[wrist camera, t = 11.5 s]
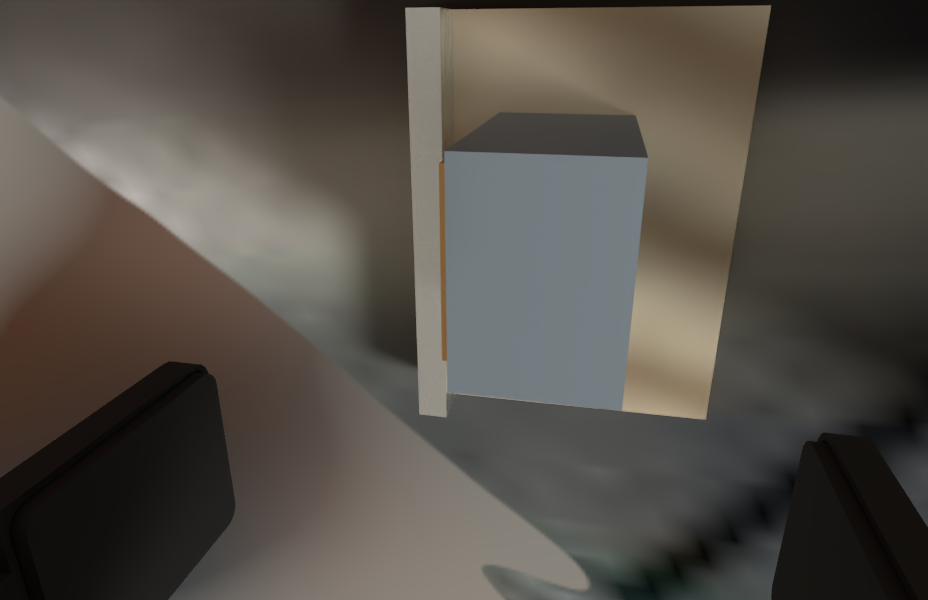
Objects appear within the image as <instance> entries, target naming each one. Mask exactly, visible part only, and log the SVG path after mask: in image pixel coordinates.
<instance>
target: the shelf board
mask: <svg viewBox="0 0 928 600" xmlns="http://www.w3.org/2000/svg"><path fill="white" fill-rule="evenodd" d="M770 10H771V5H764V6H684V7H603V8H522V9H447V8H441V7H424V8H405V14H406V42H407V71H408V100H409V128H410V157H411V185H412V214H413V242H414V271H415V300H416V328H417V357H418V385H419V414H422V415H431V416H440V417H447V415H448V413H449V411H450V408H451V406H452V404H453V401H454V399H455V397H456V394H458V393H448V392H447V361H442V334H441V272H440V210H439V163H440V162H441V161H442V160H444V151H445V150H446V149H448V148H449V147H451V146H452V145H454V144H455V143H457V142H458V141H459V140H461V139H462V138H464V137H465V136H467V135H468V134H469V133H471V132H472V131H474V130H475V129H477V128H478V127H479V126H481V125H482V124H484V123H485V122H487V121H488V120H489V119H491V118H492V117H494V116H495V115H497V114H498V113H499V112H506V113H553V114H600V115H636V118H637V121H638V125H639V128H640V131H641V135H642V138H643V142H644V145H645V148H646V152H647V155H648V166H647V176H646V185H645V195H644V204H643V214H642V223H641V233H640V243H639V252H638V262H637V271H636V281H635V290H634V300H633V310H632V319H631V329H630V338H629V348H628V357H627V367H626V377H625V386H624V396H623V405H622V411H627V412H637V413H646V414H656V415H666V416H675V417H685V418H695V419H704V420H706V414H707V408H708V402H709V395H710V389H711V383H712V376H713V370H714V364H715V357H716V351H717V345H718V338H719V332H720V326H721V319H722V313H723V307H724V300H725V294H726V288H727V282H728V275H729V269H730V263H731V256H732V250H733V244H734V237H735V231H736V225H737V218H738V212H739V206H740V199H741V193H742V187H743V180H744V174H745V168H746V162H747V155H748V149H749V143H750V136H751V130H752V124H753V117H754V111H755V105H756V98H757V92H758V86H759V79H760V73H761V67H762V61H763V54H764V48H765V42H766V35H767V29H768V23H769V16H770ZM463 395H467V394H463ZM473 396H477V395H473ZM482 397H486V396H482ZM492 398H496V397H492ZM502 399H505V398H502ZM511 400H514V399H511ZM521 401H524V400H521ZM530 402H533V401H530ZM540 403H543V402H540ZM550 404H552V403H550ZM559 405H562V404H559ZM569 406H571V405H569ZM579 407H581V406H579ZM588 408H590V407H588ZM598 409H599V408H598ZM608 410H609V409H608ZM617 411H618V410H617Z"/></svg>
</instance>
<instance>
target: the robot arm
mask: <svg viewBox="0 0 928 600" xmlns="http://www.w3.org/2000/svg"><path fill="white" fill-rule="evenodd" d="M234 510H235V498H234V492H233V486H232V479H231V473H230V467H229V460H228V454H227V447H226V441H225V435H224V429H223V422H222V416H221V409H220V403H219V397H218V390H217V384H216V380H215V378H214V377H213V376H212V375H211V374H208V371H207V369H206V368H205V367H204V366H202V365H199V364H190V363H181V362H167V363H165V364H163V365H162V366H160V367H159V368H157V369H156V370H154V371H153V372H152V373H150V374H149V375H147V376H146V377H144V378H143V379H142V380H140V381H139V382H137V383H136V384H134V385H133V386H132V387H130V388H129V389H127V390H126V391H124V392H123V393H122V394H120V395H119V396H117V397H116V398H114V399H113V400H111V401H110V402H109V403H107V404H106V405H104V406H103V407H102V408H100V409H99V410H97V411H96V412H94V413H93V414H91V415H90V416H89V417H87V418H86V419H84V420H83V421H81V422H80V423H78V424H77V425H76V426H74V427H73V428H71V429H70V430H69V431H67V432H66V433H64V434H63V435H61V436H60V437H58V438H57V439H56V440H54V441H53V442H51V443H50V444H48V445H47V446H46V447H44V448H43V449H41V450H40V451H38V452H37V453H36V454H34V455H33V456H31V457H30V458H28V459H27V460H25V461H24V462H23V463H21V464H20V465H18V466H17V467H15V468H14V469H13V470H11V471H10V472H8V473H7V474H5V475H4V476H3V477H1V478H0V600H168V599H169V598H170V597H171V595H172V594H173V593H174V592H175V590H176V589H177V588H178V587H179V586H180V584H181V583H182V582H183V581H184V579H185V578H186V577H187V576H188V574H189V573H190V572H191V571H192V569H193V568H194V567H195V566H196V565H197V563H198V562H199V561H200V560H201V559H202V557H203V556H204V555H205V554H206V552H207V551H208V550H209V549H210V548H211V546H212V545H213V544H214V543H215V541H216V540H217V539H218V537H220V535H221V534H222V532H224V530H225V529H226V528H227V527H228V525H229V524H230V522H231V520H232V518H233V515H234ZM771 597H772V600H928V527H927V526H926V524H925V522H924V521H923V519H922V518H921V516H920V515H919V513H918V512H917V510H916V508H915V507H914V505H913V504H912V502H911V501H910V499H909V498H908V496H907V494H906V493H905V491H904V490H903V488H902V487H901V485H900V484H899V482H898V480H897V479H896V477H895V476H894V474H893V473H892V471H891V470H890V468H889V466H888V465H887V463H886V462H885V460H884V459H883V457H882V456H881V454H880V452H879V451H878V449H877V448H876V446H875V445H874V443H873V442H872V441H871V440H870V438H867V437H860V436H851V435H842V434H833V433H822V434H821V435H820V437H819V438H818V441H817V442H813V441H807V442H806V443H805V444H804V446H803V450H802V454H801V458H800V463H799V467H798V472H797V476H796V481H795V485H794V490H793V494H792V499H791V503H790V508H789V513H788V517H787V522H786V526H785V531H784V535H783V540H782V544H781V549H780V553H779V558H778V562H777V567H776V571H775V576H774V580H773V585H772V596H771Z"/></svg>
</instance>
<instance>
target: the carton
mask: <svg viewBox="0 0 928 600" xmlns="http://www.w3.org/2000/svg"><path fill="white" fill-rule="evenodd" d="M647 166H648V155H647V152H646V148H645V145H644V142H643V138H642V135H641V131H640V128H639V125H638V121H637V118H636V115H600V114H553V113H506V112H499V113H498V114H497V115H495V116H494V117H492V118H491V119H489V120H488V121H487V122H485V123H484V124H482V125H481V126H479V127H478V128H477V129H475V130H474V131H472V132H471V133H469V134H468V135H467V136H465V137H464V138H462V139H461V140H459V141H458V142H457V143H455V144H454V145H452V146H451V147H449V148H448V149H446V150H445V151H444V160H442V161H441V162H440V163H439V210H440V272H441V334H442V361H447V392H448V393H458V394H467V395H477V396H486V397H496V398H505V399H514V400H524V401H533V402H543V403H552V404H562V405H571V406H581V407H590V408H599V409H609V410H618V411H622V405H623V396H624V386H625V377H626V367H627V357H628V348H629V338H630V329H631V319H632V310H633V300H634V290H635V281H636V271H637V262H638V252H639V243H640V233H641V223H642V214H643V204H644V195H645V185H646V176H647Z"/></svg>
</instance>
